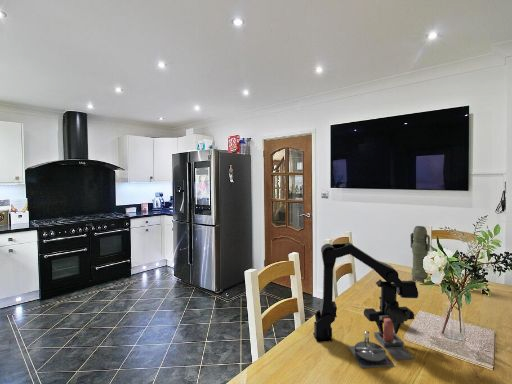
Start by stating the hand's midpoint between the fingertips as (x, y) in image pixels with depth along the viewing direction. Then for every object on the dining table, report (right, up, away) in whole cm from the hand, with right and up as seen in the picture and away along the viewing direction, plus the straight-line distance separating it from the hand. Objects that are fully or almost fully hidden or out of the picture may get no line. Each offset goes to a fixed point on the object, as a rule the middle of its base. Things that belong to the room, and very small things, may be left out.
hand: (388, 334), depth 116 cm
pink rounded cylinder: (0, -3, 0) cm, 3 cm away
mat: (+1, -4, -8) cm, 9 cm away
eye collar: (0, -3, 0) cm, 3 cm away
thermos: (+52, +1, +68) cm, 85 cm away
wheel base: (-11, -4, -9) cm, 15 cm away
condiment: (+7, -3, +18) cm, 20 cm away
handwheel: (-11, -2, -9) cm, 15 cm away
